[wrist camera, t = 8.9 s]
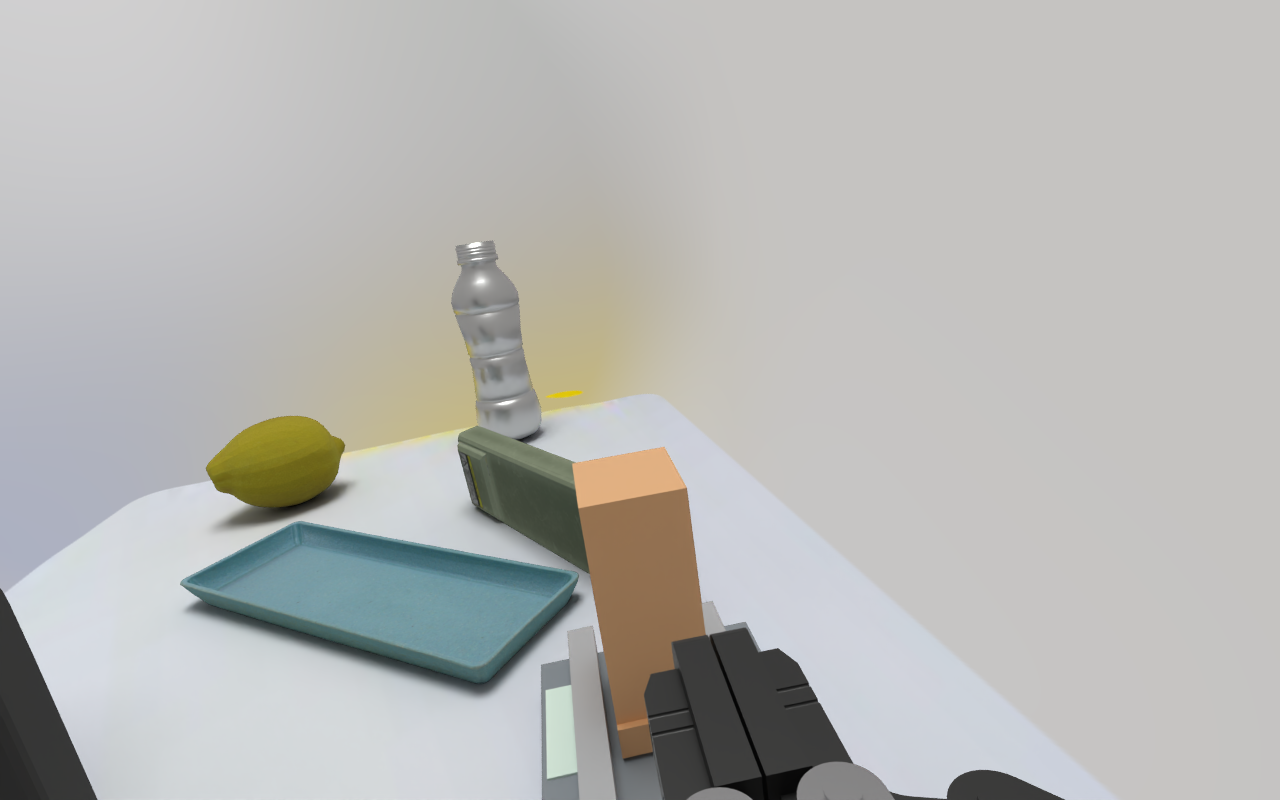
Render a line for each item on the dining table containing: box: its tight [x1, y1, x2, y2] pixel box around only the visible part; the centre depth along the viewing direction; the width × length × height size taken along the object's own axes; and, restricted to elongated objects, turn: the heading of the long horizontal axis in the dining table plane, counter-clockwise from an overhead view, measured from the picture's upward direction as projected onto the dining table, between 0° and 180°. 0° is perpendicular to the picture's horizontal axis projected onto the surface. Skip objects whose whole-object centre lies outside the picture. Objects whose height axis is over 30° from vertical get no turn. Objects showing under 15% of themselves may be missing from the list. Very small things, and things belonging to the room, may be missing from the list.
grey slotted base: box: [541, 601, 761, 800], centre depth 24 cm, size 18×10×3 cm, turn 8°
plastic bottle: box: [451, 241, 541, 440], centre depth 69 cm, size 6×7×20 cm
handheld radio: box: [458, 426, 590, 574], centre depth 46 cm, size 7×3×25 cm
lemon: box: [206, 416, 345, 508], centre depth 61 cm, size 11×8×8 cm
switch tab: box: [572, 447, 706, 759], centre depth 27 cm, size 5×4×10 cm
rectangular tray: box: [180, 521, 579, 684], centre depth 43 cm, size 26×9×2 cm, turn 62°
